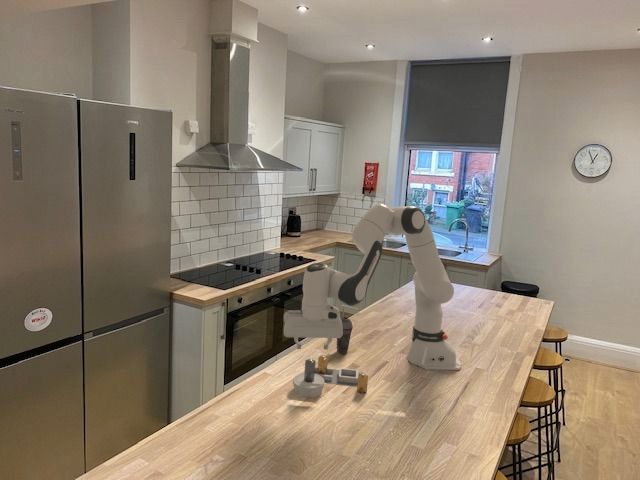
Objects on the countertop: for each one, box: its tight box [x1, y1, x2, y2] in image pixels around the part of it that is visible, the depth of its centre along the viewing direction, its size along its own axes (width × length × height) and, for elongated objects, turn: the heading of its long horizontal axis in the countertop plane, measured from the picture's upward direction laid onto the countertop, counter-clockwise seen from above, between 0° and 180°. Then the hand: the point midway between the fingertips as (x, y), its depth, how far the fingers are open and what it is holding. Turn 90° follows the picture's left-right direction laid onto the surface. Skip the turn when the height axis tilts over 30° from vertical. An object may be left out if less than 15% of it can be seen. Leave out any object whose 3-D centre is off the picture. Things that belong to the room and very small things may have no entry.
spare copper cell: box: [317, 355, 329, 375], centre depth 178 cm, size 4×4×8 cm
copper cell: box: [356, 373, 369, 395], centre depth 168 cm, size 4×4×8 cm
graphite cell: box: [303, 358, 316, 382], centre depth 165 cm, size 4×4×8 cm
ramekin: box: [292, 372, 325, 398], centre depth 166 cm, size 11×11×5 cm
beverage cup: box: [336, 307, 354, 355], centre depth 202 cm, size 7×7×20 cm
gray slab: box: [315, 365, 365, 388], centre depth 178 cm, size 22×12×3 cm, turn 86°
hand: (312, 348), depth 163 cm, fingers open, 8 cm apart
